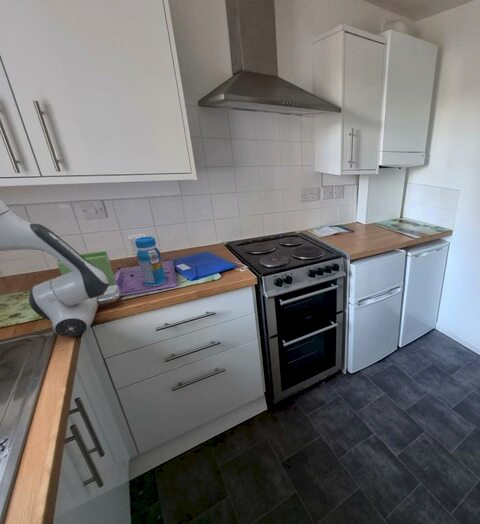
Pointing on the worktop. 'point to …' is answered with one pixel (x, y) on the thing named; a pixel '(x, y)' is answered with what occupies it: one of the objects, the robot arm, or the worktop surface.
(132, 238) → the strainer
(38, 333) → the worktop surface
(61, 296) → the robot arm
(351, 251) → the worktop surface
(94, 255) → the green square panel
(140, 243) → the beverage bottle
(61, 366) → the worktop surface
